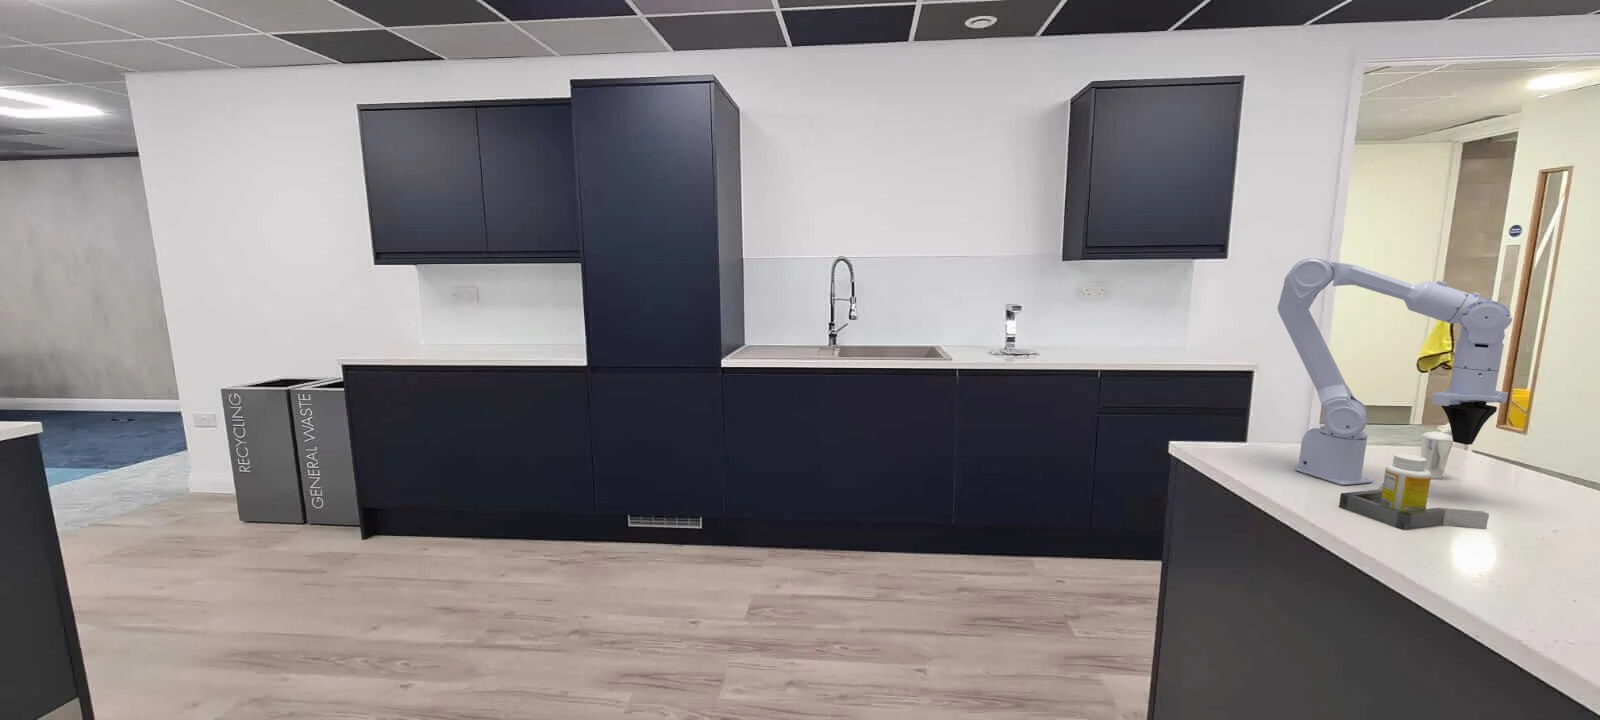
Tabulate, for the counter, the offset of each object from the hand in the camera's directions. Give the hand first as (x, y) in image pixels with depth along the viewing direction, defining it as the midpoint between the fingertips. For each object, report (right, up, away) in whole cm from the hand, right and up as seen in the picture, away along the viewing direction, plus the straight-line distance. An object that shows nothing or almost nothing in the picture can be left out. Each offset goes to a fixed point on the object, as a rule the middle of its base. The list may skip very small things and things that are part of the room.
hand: (1462, 443), depth 115 cm
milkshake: (+8, -9, +14) cm, 19 cm away
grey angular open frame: (-17, -11, -6) cm, 21 cm away
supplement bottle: (-17, -12, -6) cm, 22 cm away
